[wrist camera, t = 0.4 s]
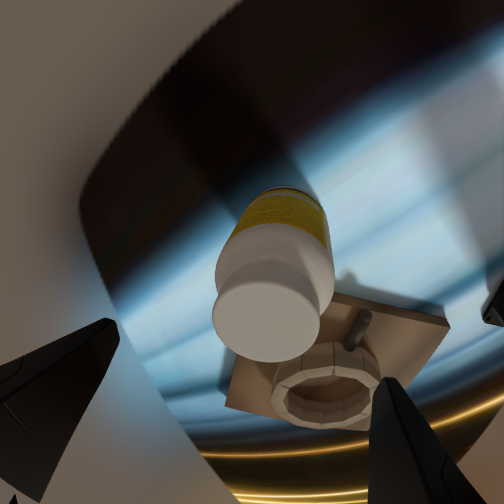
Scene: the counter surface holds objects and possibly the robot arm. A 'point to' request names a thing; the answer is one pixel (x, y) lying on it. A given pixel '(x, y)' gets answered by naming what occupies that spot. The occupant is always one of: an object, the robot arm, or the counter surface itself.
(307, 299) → the supplement bottle
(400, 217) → the counter surface
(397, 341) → the dock
